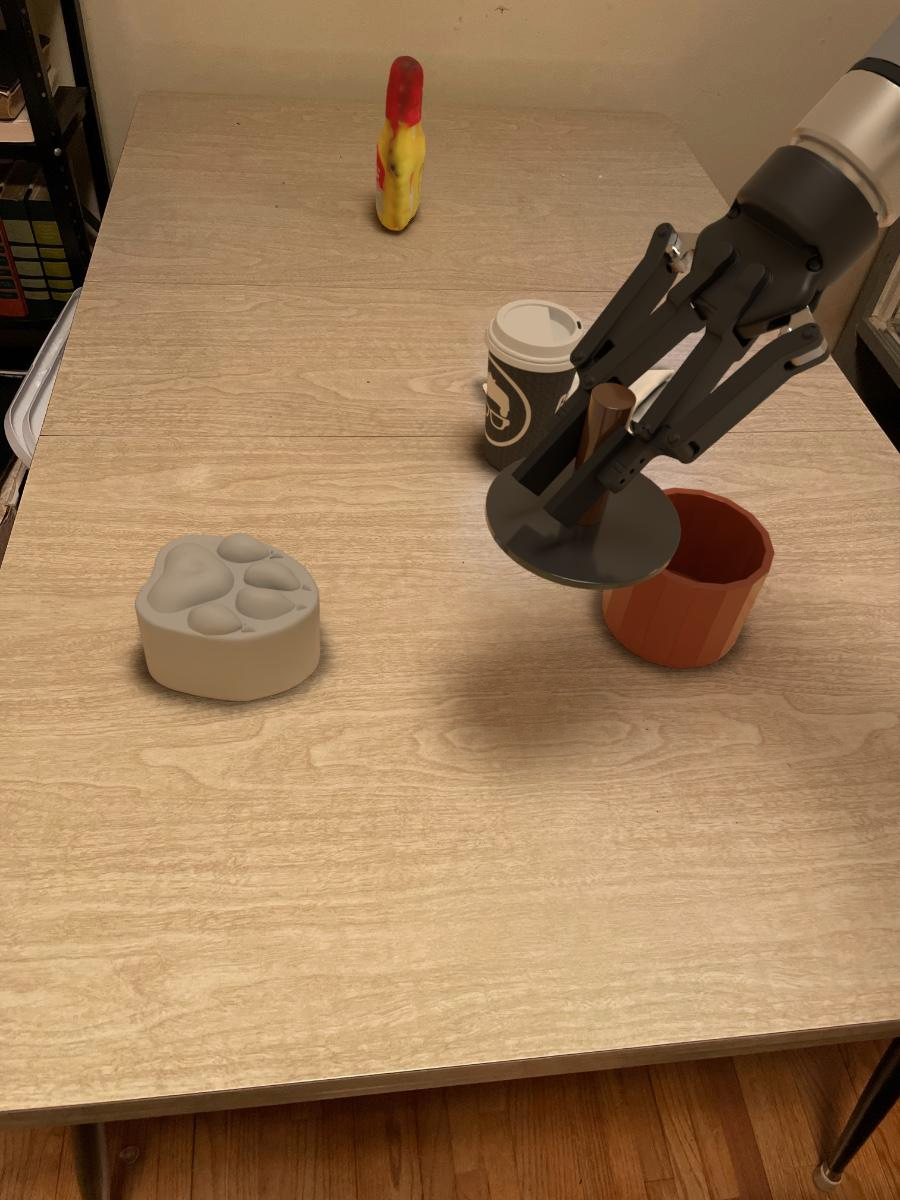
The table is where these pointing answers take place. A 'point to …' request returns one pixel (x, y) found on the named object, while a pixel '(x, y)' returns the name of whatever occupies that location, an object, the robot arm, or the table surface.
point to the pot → (695, 585)
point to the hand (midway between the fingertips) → (540, 501)
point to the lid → (588, 516)
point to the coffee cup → (526, 375)
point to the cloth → (637, 390)
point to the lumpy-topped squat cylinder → (228, 618)
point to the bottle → (401, 146)
